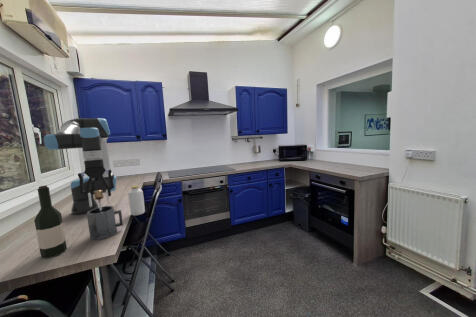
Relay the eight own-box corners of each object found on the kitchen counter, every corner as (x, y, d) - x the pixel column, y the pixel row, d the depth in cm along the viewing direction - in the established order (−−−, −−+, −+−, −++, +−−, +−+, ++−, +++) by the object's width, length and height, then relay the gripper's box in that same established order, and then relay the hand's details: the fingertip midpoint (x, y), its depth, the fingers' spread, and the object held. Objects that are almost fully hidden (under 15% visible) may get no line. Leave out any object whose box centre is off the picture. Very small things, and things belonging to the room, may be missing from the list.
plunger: (95, 226, 101) (89, 190, 98) (111, 222, 104) (106, 188, 102) (94, 231, 95) (88, 193, 93) (111, 227, 99) (106, 190, 96)
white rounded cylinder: (139, 216, 122) (135, 188, 120) (127, 216, 123) (124, 188, 121) (147, 211, 130) (144, 185, 128) (137, 211, 131) (133, 185, 129)
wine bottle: (52, 248, 89) (41, 184, 86) (71, 246, 90) (61, 183, 86) (35, 259, 81) (22, 189, 77) (56, 257, 81) (44, 187, 78)
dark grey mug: (91, 233, 102) (87, 209, 100) (122, 225, 109) (119, 203, 108) (89, 242, 92) (85, 216, 91) (124, 233, 100) (120, 208, 98)
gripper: (66, 162, 87) (73, 211, 90) (116, 157, 98) (122, 201, 100) (68, 161, 93) (76, 207, 96) (116, 156, 104) (121, 198, 107)
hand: (99, 204), depth 98 cm, fingers open, 7 cm apart
